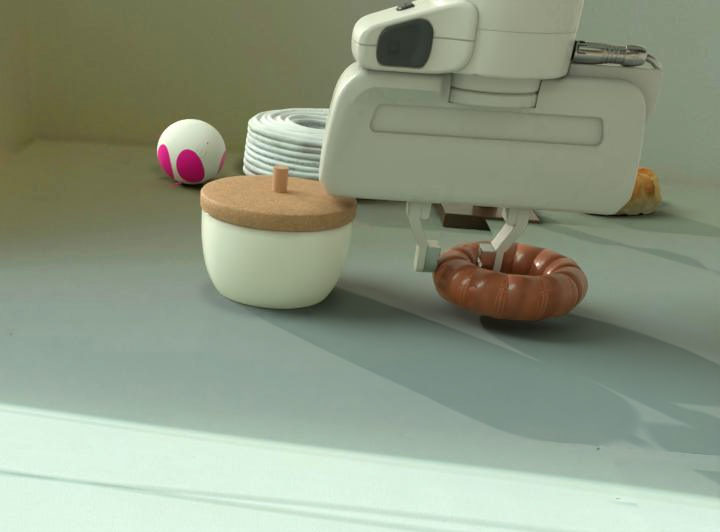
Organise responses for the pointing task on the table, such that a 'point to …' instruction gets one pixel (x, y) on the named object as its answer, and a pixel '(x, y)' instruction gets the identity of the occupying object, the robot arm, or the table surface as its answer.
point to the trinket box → (274, 238)
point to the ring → (511, 282)
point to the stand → (472, 215)
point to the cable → (286, 142)
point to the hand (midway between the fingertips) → (454, 272)
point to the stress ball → (191, 151)
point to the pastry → (643, 194)
